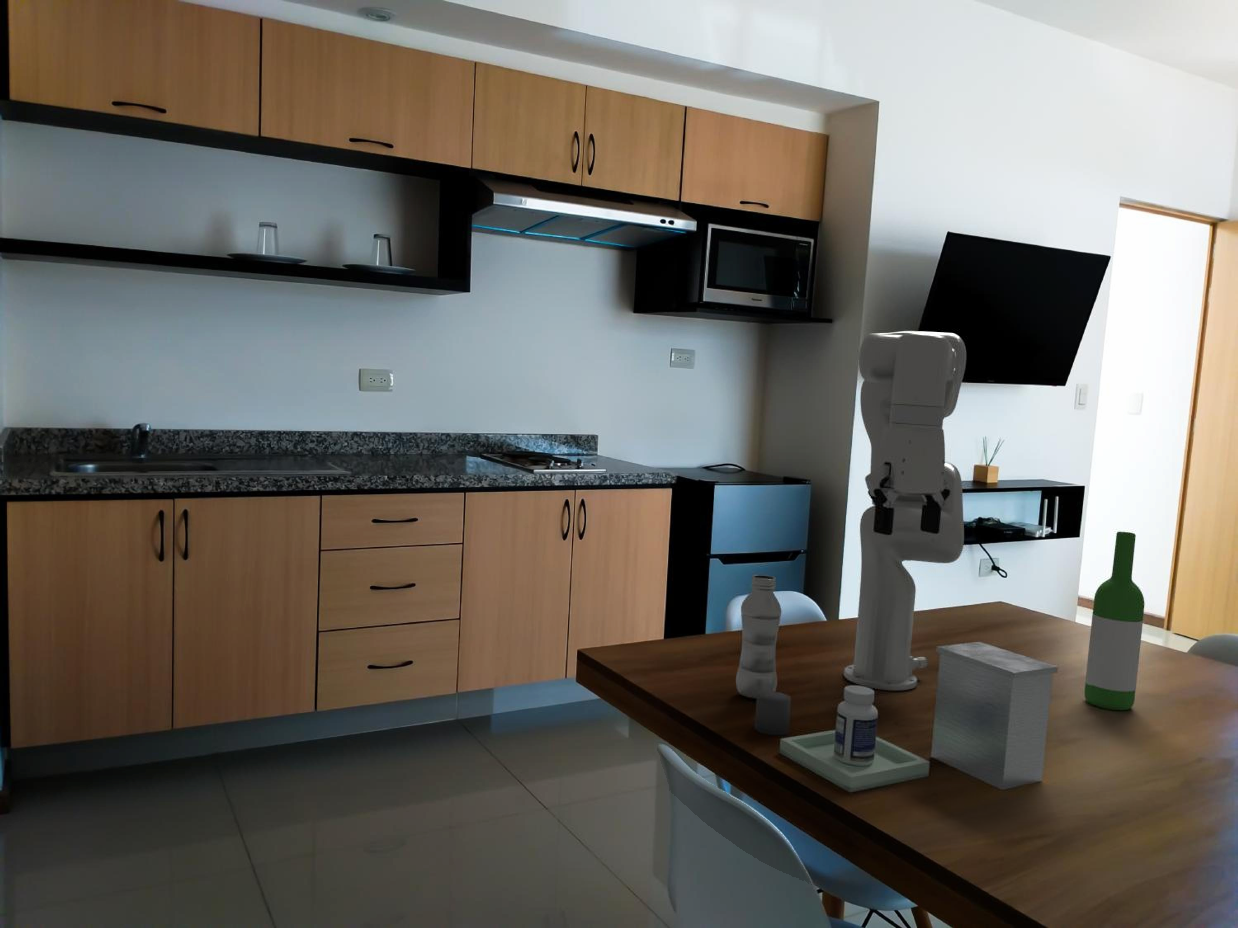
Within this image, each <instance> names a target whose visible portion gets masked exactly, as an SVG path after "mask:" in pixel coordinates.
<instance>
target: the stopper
mask: <svg viewBox="0 0 1238 928" xmlns="http://www.w3.org/2000/svg"><path fill="white" fill-rule="evenodd" d="M755 702H756V703H755V714H754V715H755V717H754V729H755V730H756V731H757V732H759V733H761V734H764V735H769V736H785V735H787V734H788V733H789V729H790V718H791V717H790V716H791V704H792V703H791V702H792V698H791V696H790V695H788V694H787V693H782V692H779V691H778V692H777V691H775V692H773V691H764V692H760V693H758V694H757V699H756V701H755Z"/></svg>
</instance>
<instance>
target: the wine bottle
mask: <svg viewBox="0 0 1238 928" xmlns="http://www.w3.org/2000/svg"><path fill="white" fill-rule="evenodd" d="M1135 546H1136V534H1135V533H1134V532H1129V531H1117V532H1116V535H1115V546H1114V553H1113V561H1112V570H1111V571H1112V572H1111V576H1110V578H1108V579H1107V580H1105V581H1103V582H1102V583H1101V584H1100V585H1099V586H1098V587H1097V589H1096V591H1095V593H1094V597H1093V608H1092V616H1091V624H1090V634H1089V645H1088V653H1087V662H1086V673H1085V684H1084V698H1085V700H1086V701H1087V702H1088V703H1090V704H1091V705H1093V706H1095V707H1099V708H1102V709H1106V710H1110V711H1111V710H1112V711H1127V710H1130V709H1132V708H1133V706H1134V705H1135V699H1136V698H1135V697H1136V691H1137V690H1136V689H1137V683H1138V681H1137V680H1138V672H1139V663H1140V662H1139V661H1140V651H1141V643H1142V633H1143V624H1144V623H1143V622H1144V612H1145V598H1144V595H1143V592H1142V590H1141V589H1140V587H1139V586H1138V585H1137V584H1136V583H1135V582H1134V581H1133V579H1132V578H1133V577H1132V576H1133V568H1134V558H1135Z"/></svg>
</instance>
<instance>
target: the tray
mask: <svg viewBox="0 0 1238 928" xmlns="http://www.w3.org/2000/svg"><path fill="white" fill-rule="evenodd" d="M835 732H836V729H833V730H832V729H831V730H826V731H821V732H814V733H808V734H802V735H797V736H790V737H784V738H780V742H779V754H781V755H783V756H784V757H787V758H788V759H790V760H791V761H793V762H795V763H797V764H799V765H801V766H802V767H804V768H806V769H807V770H809V771H811V772H813V773H814V774H816V775H818V776H820V777H822V778H824V779H825V780H827V781H829V782H831V783H833V784H834V785H835V786H837V787H839V788H841V789H843V790H845V791H847V792H849V793H855V792H859V791H865V790H870V789H875V788H877V787H883V786H889V785H892V784H893V785H894V784H898V783H903V782H907V781H908V782H909V781H911V780H918V779H921V778H922V779H923V778H926V777H929V772H930V763H931V761H929V760H927V759H925V758H923V757H921V756H918V755H917V754H914V753H912V752H910V751H908V750H906V749H903V748H902V747H900V746H897V745H895V744H893V743H890V742H889V741H887V740H885V739H884V738H883V739H882V738H880V737H878V736H876V742H875V755H874V761H873V763H872V764H870V765H867V766H855V765H849V764H846V763H843V762H840V761H839V760H837V759H836V758H835V756H834V744H835Z"/></svg>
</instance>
